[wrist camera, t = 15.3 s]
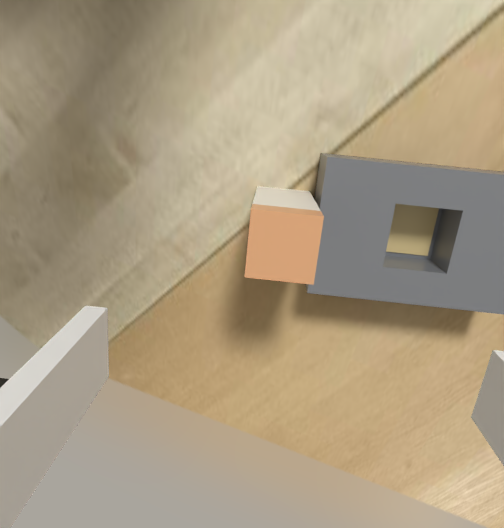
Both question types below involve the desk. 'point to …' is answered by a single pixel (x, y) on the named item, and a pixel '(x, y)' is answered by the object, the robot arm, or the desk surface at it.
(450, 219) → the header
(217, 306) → the desk surface
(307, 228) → the plug
